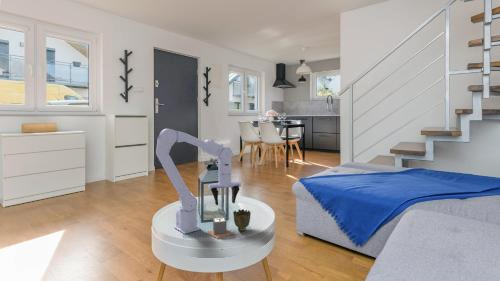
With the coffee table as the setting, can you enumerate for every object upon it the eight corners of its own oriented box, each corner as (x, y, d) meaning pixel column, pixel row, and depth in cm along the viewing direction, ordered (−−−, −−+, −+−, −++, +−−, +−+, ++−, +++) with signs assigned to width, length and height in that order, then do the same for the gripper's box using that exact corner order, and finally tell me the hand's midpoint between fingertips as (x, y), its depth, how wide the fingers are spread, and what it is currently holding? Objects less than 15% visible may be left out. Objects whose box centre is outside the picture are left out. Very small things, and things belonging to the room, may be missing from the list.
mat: (206, 233, 117) (206, 231, 117) (222, 228, 122) (222, 227, 122) (217, 239, 111) (217, 237, 111) (233, 233, 116) (233, 232, 116)
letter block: (214, 234, 114) (214, 222, 113) (212, 230, 118) (212, 218, 118) (226, 233, 115) (226, 221, 114) (224, 229, 120) (224, 217, 119)
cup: (239, 235, 114) (239, 215, 114) (229, 229, 120) (229, 211, 120) (254, 231, 119) (254, 212, 118) (244, 225, 125) (244, 208, 124)
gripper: (237, 171, 131) (237, 199, 132) (206, 173, 126) (207, 202, 127) (242, 173, 125) (242, 203, 125) (210, 175, 120) (210, 207, 120)
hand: (225, 203), depth 126 cm, fingers open, 7 cm apart
